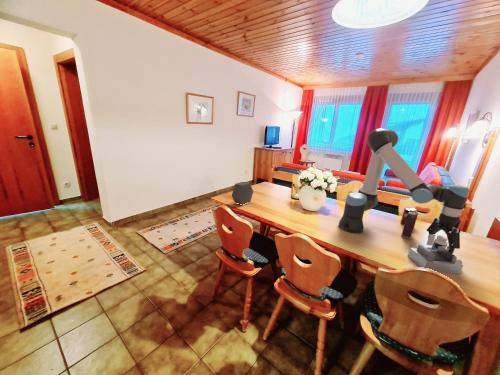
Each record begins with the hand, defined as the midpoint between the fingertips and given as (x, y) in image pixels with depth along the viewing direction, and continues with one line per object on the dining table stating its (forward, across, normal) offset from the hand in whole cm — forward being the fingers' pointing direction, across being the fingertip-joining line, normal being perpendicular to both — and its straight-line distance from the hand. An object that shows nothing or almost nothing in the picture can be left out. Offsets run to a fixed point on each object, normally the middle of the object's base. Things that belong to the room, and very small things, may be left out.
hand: (437, 250), depth 113 cm
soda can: (+1, +36, -6) cm, 37 cm away
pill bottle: (+2, 0, 0) cm, 2 cm away
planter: (+1, +53, +116) cm, 127 cm away
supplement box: (+1, +18, +5) cm, 19 cm away
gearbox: (+1, -12, +9) cm, 15 cm away
